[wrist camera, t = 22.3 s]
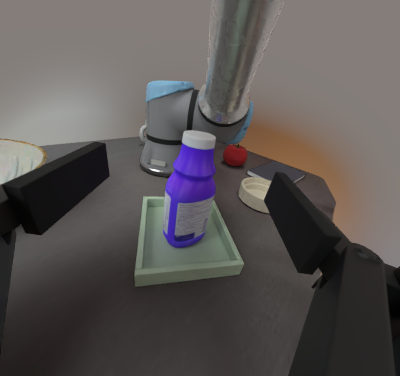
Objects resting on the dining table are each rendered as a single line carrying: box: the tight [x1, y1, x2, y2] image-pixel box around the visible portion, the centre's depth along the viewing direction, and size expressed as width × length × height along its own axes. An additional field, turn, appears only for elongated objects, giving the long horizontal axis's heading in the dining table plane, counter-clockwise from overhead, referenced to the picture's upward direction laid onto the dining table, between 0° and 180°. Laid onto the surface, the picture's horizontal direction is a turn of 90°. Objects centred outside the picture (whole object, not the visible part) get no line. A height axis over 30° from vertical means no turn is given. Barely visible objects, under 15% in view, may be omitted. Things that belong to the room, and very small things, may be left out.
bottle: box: [163, 130, 216, 248], centre depth 25 cm, size 7×6×17 cm
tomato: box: [223, 144, 247, 166], centre depth 62 cm, size 9×9×8 cm
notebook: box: [247, 161, 306, 183], centre depth 61 cm, size 13×2×21 cm
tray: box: [134, 197, 244, 287], centre depth 30 cm, size 17×15×2 cm
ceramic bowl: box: [238, 177, 271, 214], centre depth 44 cm, size 12×12×4 cm
